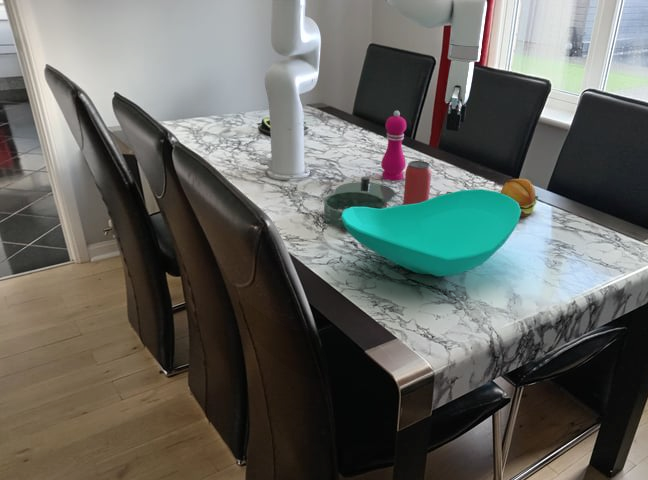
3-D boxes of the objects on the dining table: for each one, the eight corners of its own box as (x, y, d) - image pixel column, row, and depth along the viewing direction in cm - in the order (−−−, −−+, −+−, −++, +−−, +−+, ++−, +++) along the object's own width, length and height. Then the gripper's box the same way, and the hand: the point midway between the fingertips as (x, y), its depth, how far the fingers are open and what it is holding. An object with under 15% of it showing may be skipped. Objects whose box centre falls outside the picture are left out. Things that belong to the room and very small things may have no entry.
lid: (327, 201, 153) (327, 183, 151) (345, 182, 167) (345, 165, 165) (386, 210, 150) (388, 191, 148) (400, 189, 164) (401, 172, 162)
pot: (311, 230, 137) (311, 212, 134) (337, 200, 154) (338, 184, 152) (374, 239, 134) (375, 222, 132) (393, 208, 152) (394, 192, 149)
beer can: (410, 214, 149) (414, 169, 143) (398, 205, 154) (401, 161, 148) (432, 210, 152) (436, 166, 146) (419, 202, 157) (423, 159, 151)
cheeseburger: (536, 206, 158) (543, 175, 151) (530, 229, 151) (537, 197, 144) (500, 200, 160) (504, 169, 154) (492, 222, 153) (497, 190, 146)
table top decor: (465, 228, 143) (472, 176, 136) (542, 277, 122) (554, 219, 115) (317, 256, 125) (316, 198, 118) (377, 318, 104) (381, 252, 98)
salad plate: (292, 122, 225) (292, 110, 223) (321, 132, 214) (321, 120, 212) (250, 129, 213) (249, 116, 211) (278, 140, 202) (278, 127, 200)
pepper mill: (402, 183, 169) (407, 114, 159) (378, 181, 170) (381, 112, 160) (406, 176, 175) (411, 109, 166) (383, 173, 176) (386, 106, 167)
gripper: (453, 47, 144) (445, 116, 153) (442, 55, 130) (434, 131, 138) (483, 50, 143) (474, 120, 152) (475, 59, 128) (465, 135, 137)
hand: (455, 125), depth 145 cm, fingers open, 9 cm apart
